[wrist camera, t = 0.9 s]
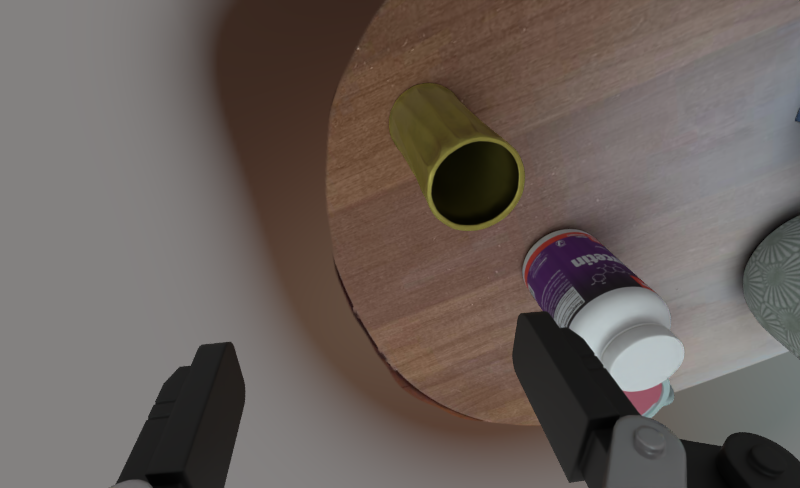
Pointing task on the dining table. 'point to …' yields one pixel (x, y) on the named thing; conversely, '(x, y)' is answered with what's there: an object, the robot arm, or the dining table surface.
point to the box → (798, 116)
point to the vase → (456, 158)
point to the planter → (777, 284)
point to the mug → (651, 398)
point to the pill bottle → (604, 307)
